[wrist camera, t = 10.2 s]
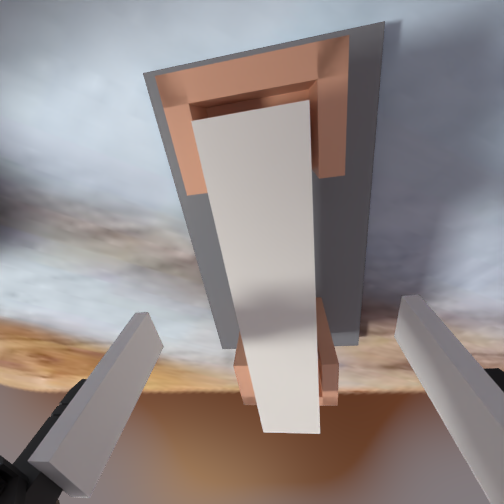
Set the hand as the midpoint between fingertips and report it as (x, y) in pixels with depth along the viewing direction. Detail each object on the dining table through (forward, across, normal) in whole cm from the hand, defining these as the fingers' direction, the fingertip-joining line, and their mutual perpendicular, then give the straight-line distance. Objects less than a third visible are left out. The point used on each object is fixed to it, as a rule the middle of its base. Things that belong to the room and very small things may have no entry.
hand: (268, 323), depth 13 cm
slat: (+6, 0, 0) cm, 6 cm away
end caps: (+12, 0, 0) cm, 12 cm away
